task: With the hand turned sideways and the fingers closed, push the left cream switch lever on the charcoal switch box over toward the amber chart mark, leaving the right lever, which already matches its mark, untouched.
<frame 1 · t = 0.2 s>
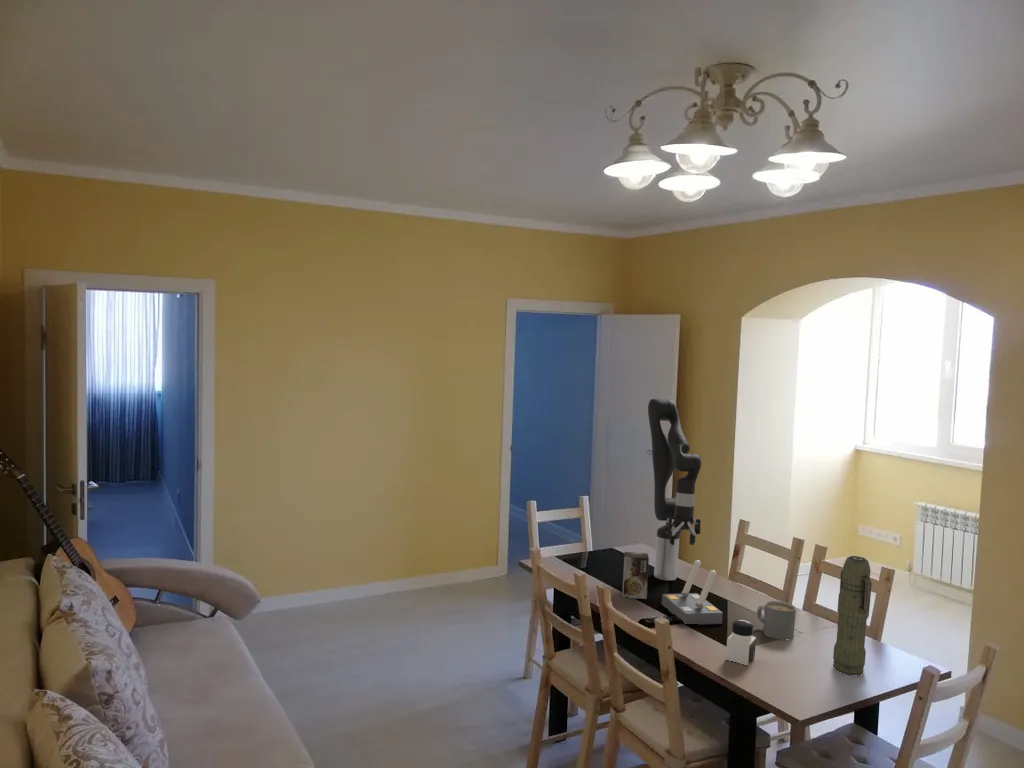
hand: (681, 544, 307), 18 cm above the table, tool pointing down, fingers open, 8 cm apart
switch b: (706, 589, 274), point 11 cm above the table, hinge at -20.0°
switch a: (691, 578, 285), point 11 cm above the table, hinge at -20.0°
thermos: (847, 670, 238), on the table
switch unit: (690, 613, 280), on the table
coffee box: (634, 596, 296), on the table
coffee mug: (774, 633, 266), on the table
medicine bottle: (740, 660, 241), on the table
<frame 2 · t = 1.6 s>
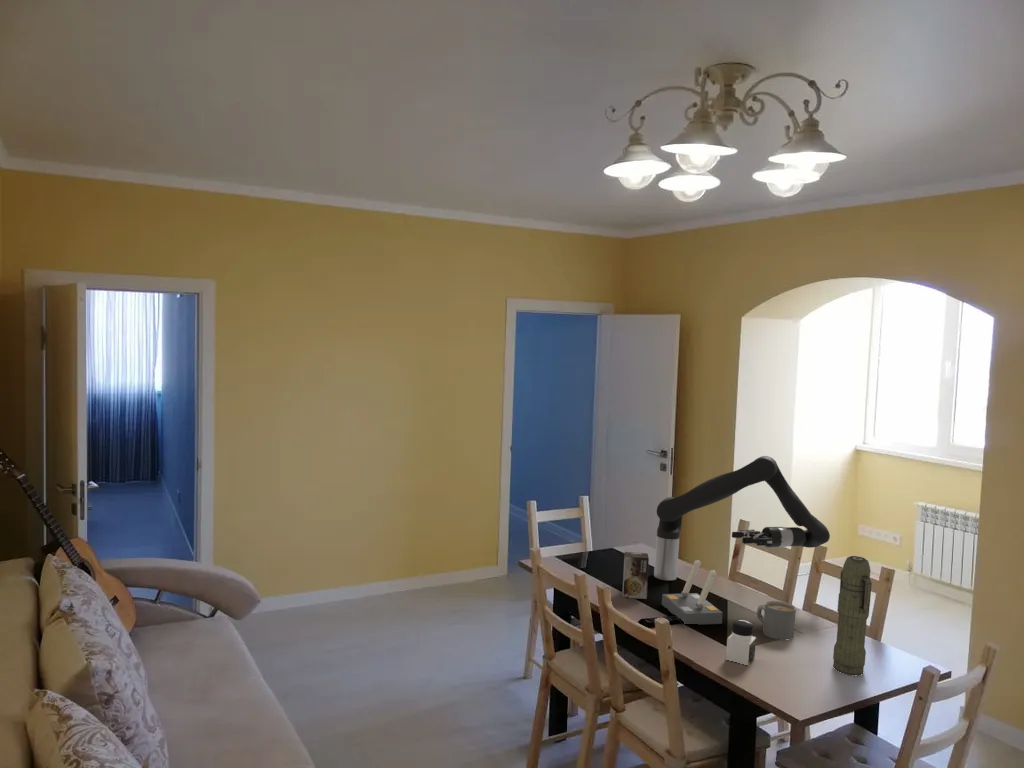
hand: (737, 537, 288), 26 cm above the table, tool horizontal, fingers open, 7 cm apart
nothing on the table moved.
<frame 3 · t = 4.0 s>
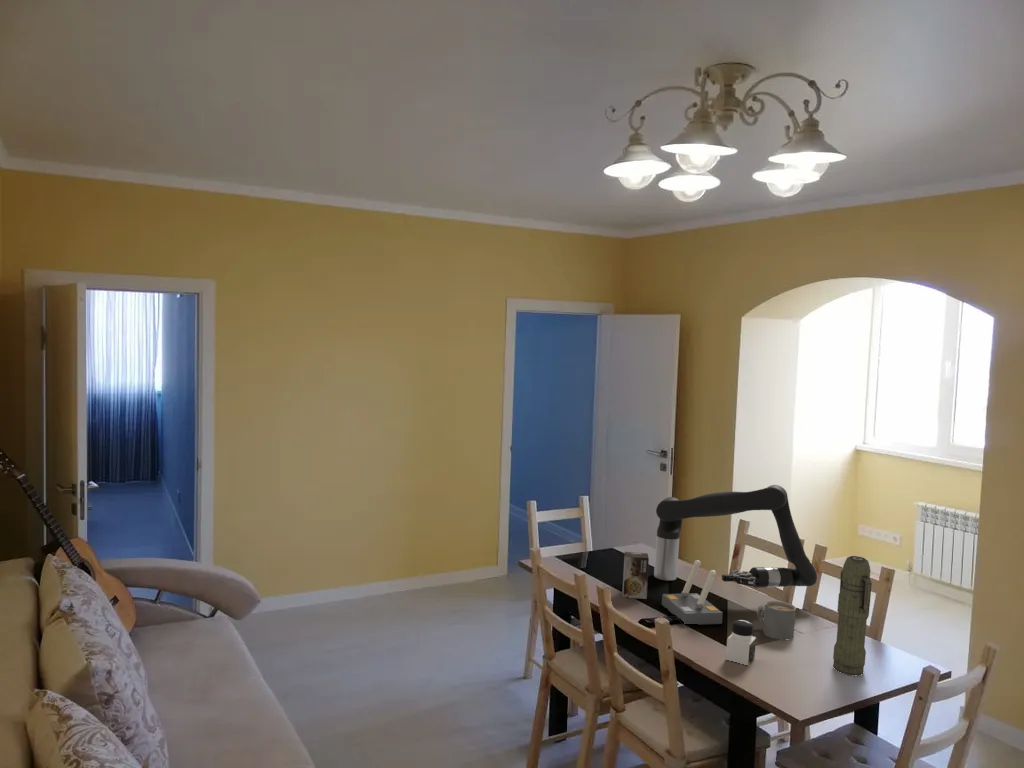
hand: (722, 578, 288), 11 cm above the table, tool horizontal, fingers closed
nothing on the table moved.
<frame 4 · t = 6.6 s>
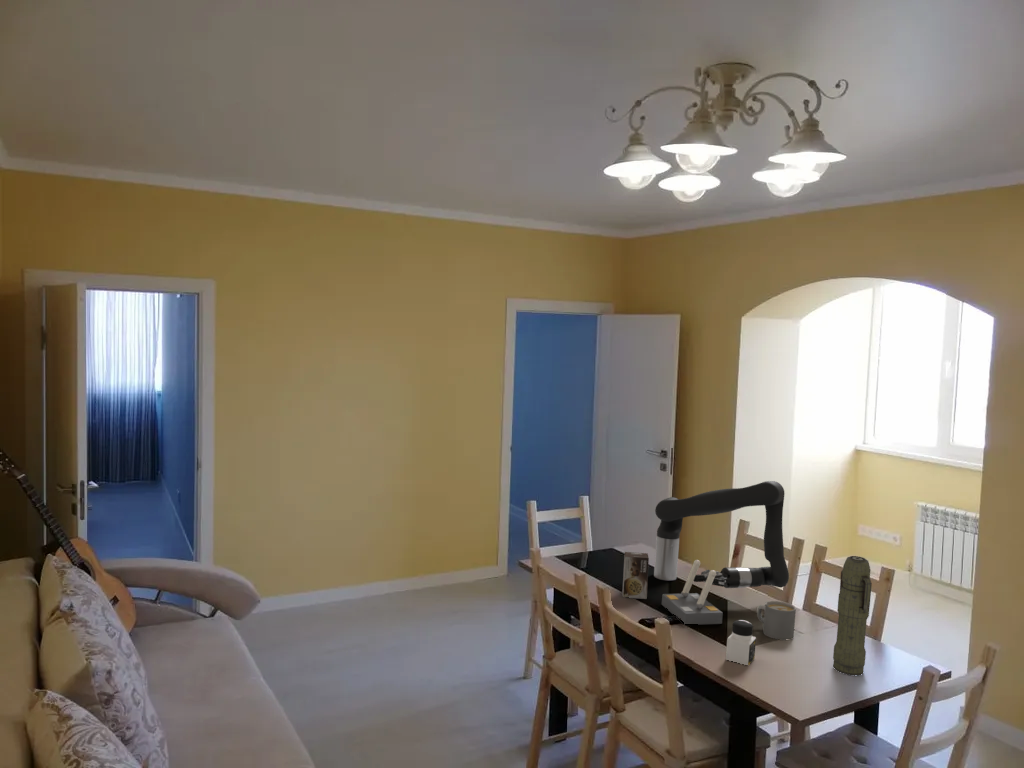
hand: (693, 578, 286), 11 cm above the table, tool horizontal, fingers closed
switch a: (691, 578, 285), point 11 cm above the table, hinge at -19.1°, touching gripper
everything else where it was.
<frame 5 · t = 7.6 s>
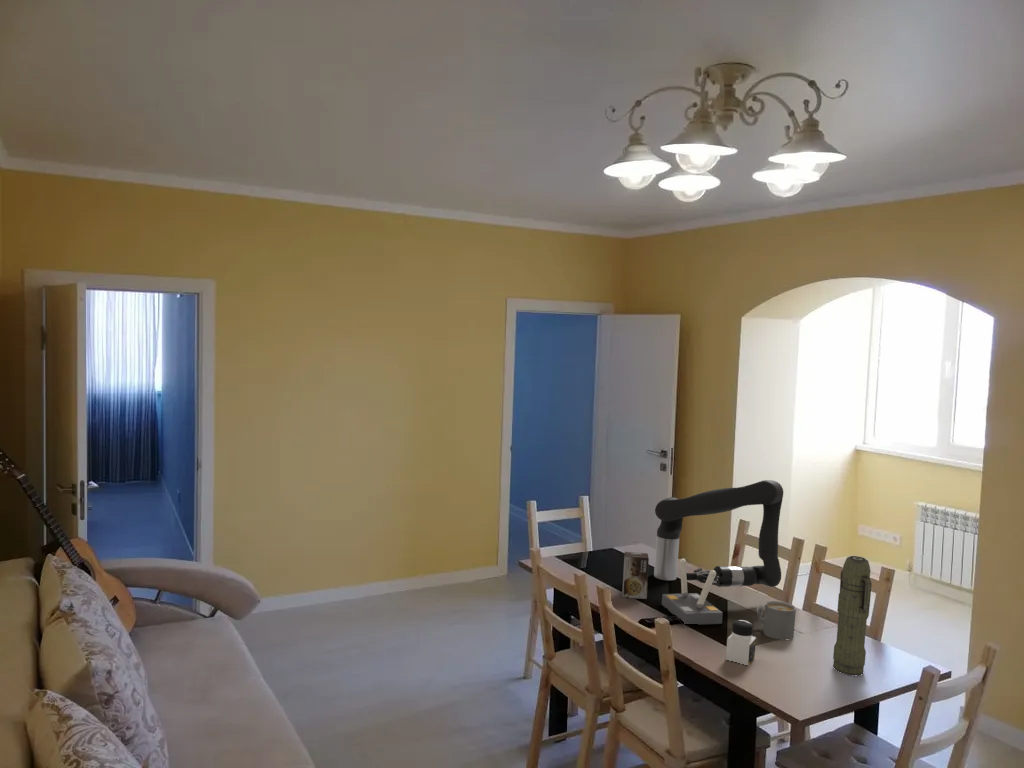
hand: (685, 576, 285), 12 cm above the table, tool horizontal, fingers closed
switch a: (683, 577, 285), point 11 cm above the table, hinge at 8.1°, touching gripper
everything else where it was.
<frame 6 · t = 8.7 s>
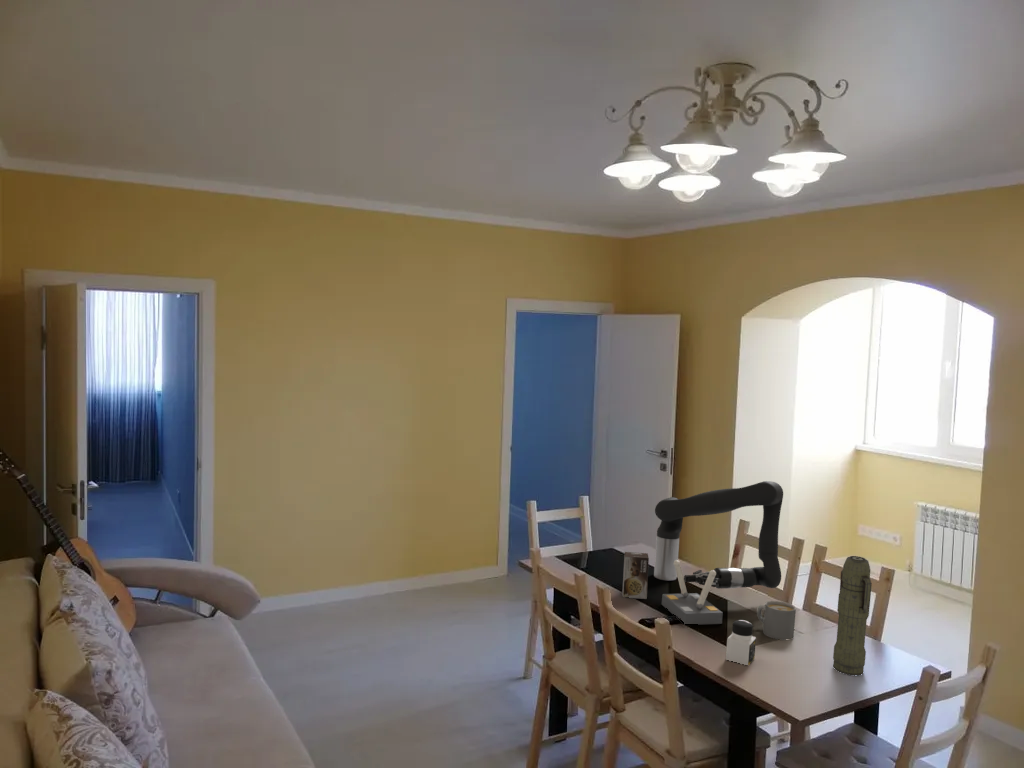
hand: (684, 578, 285), 11 cm above the table, tool horizontal, fingers closed
switch a: (680, 578, 284), point 11 cm above the table, hinge at 18.8°
everything else where it was.
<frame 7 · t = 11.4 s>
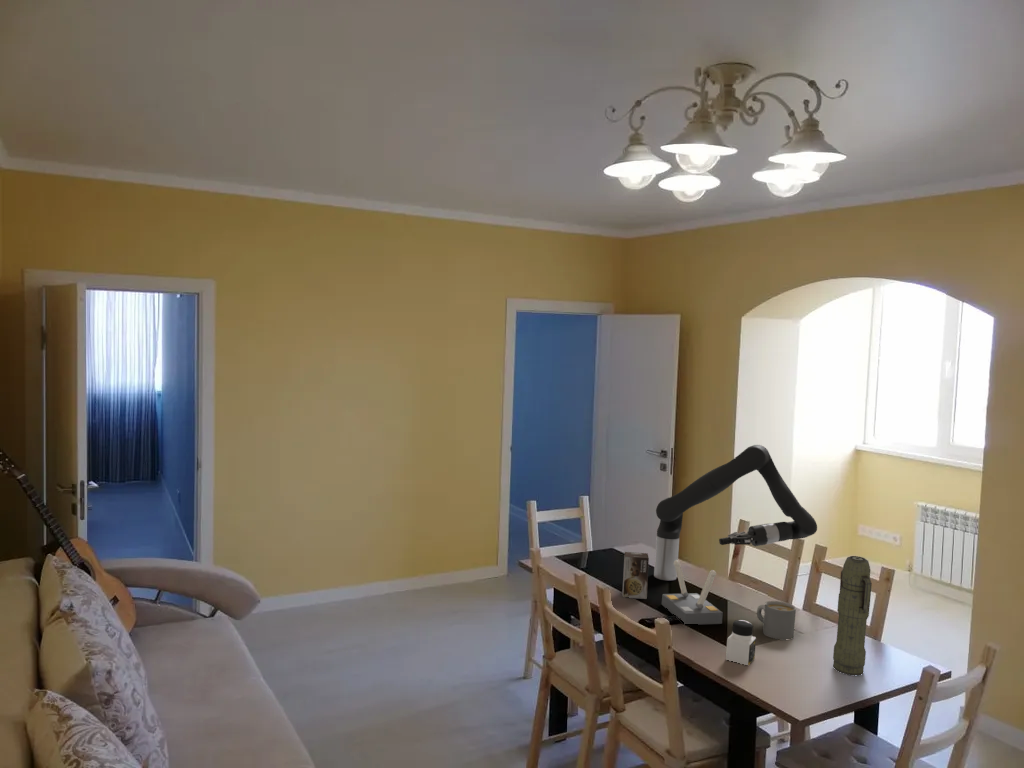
hand: (720, 541, 289), 24 cm above the table, tool horizontal, fingers closed
nothing on the table moved.
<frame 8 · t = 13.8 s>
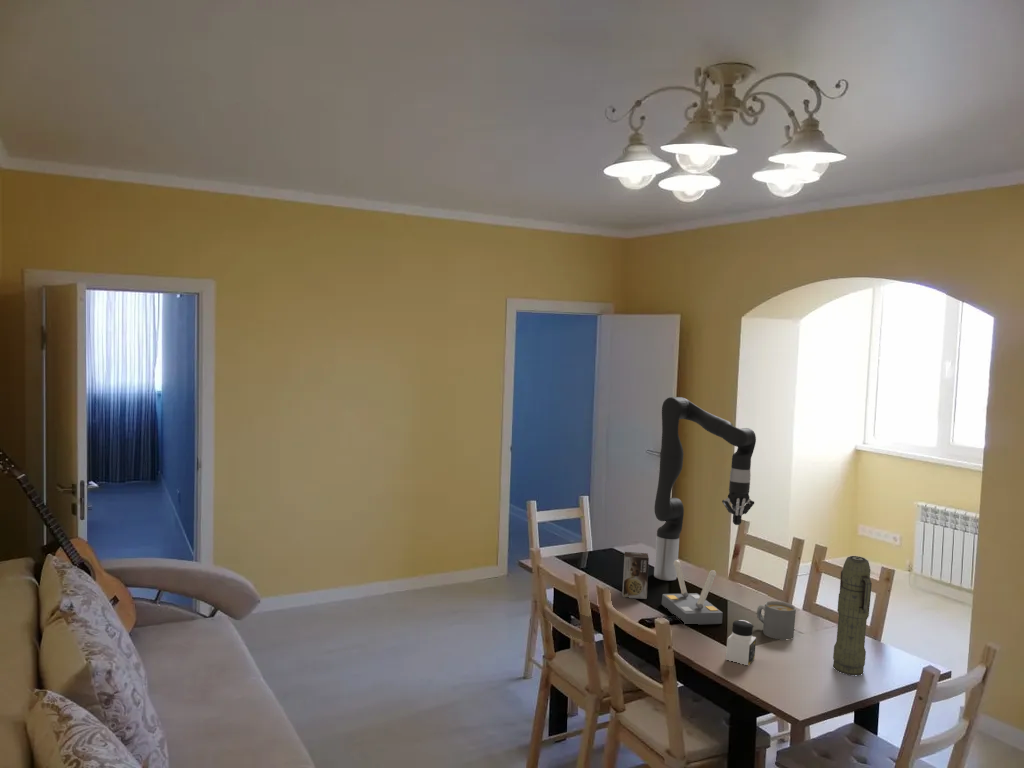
hand: (736, 524, 298), 29 cm above the table, tool pointing down, fingers closed
nothing on the table moved.
at the end: switch a at +19° (first picture: -20°); switch b at -20° (first picture: -20°) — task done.
